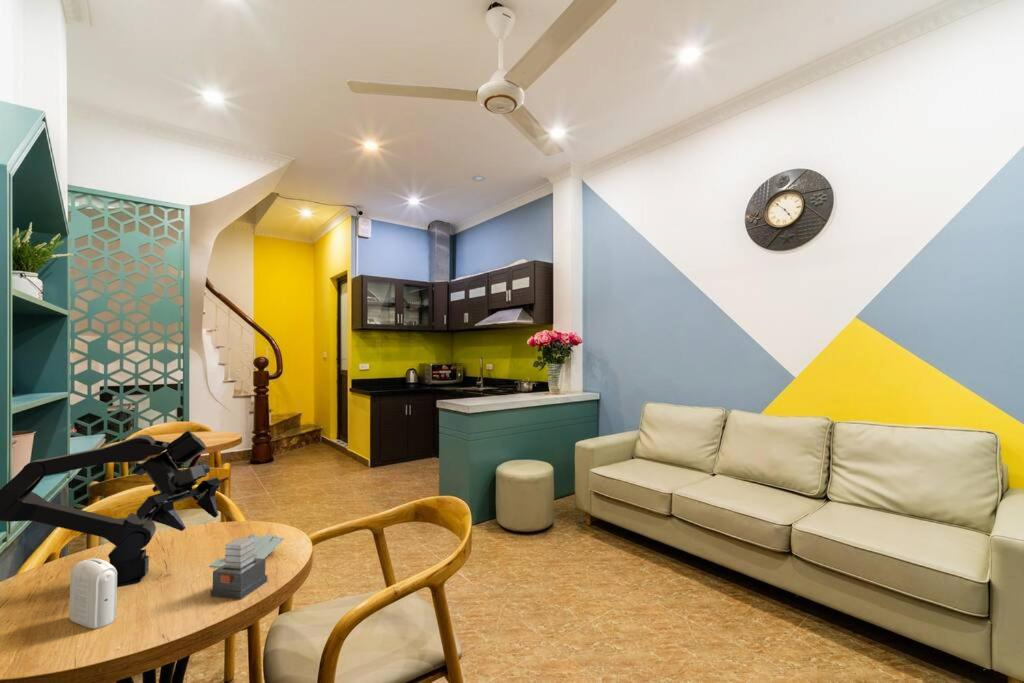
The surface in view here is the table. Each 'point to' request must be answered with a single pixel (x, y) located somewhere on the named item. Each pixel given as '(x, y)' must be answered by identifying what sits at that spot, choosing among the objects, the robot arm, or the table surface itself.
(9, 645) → the table surface
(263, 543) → the metal bracket
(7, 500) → the robot arm
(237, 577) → the collar
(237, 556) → the column
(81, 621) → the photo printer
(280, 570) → the table surface
